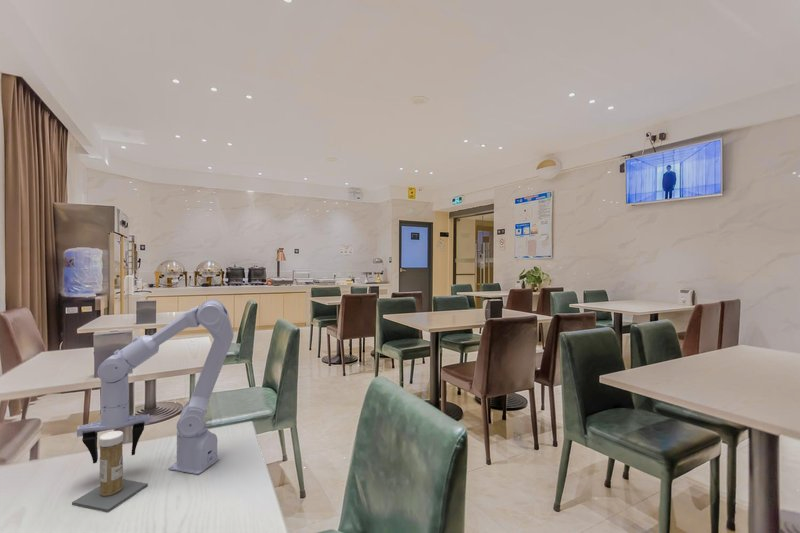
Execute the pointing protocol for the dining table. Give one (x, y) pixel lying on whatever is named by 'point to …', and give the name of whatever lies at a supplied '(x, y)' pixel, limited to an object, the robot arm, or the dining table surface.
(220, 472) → the dining table surface
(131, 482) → the coaster
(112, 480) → the sprinkles bottle
